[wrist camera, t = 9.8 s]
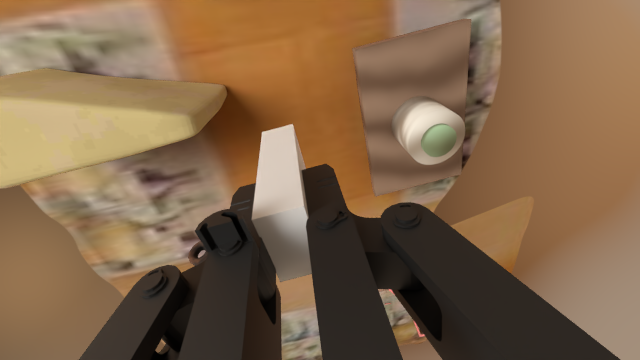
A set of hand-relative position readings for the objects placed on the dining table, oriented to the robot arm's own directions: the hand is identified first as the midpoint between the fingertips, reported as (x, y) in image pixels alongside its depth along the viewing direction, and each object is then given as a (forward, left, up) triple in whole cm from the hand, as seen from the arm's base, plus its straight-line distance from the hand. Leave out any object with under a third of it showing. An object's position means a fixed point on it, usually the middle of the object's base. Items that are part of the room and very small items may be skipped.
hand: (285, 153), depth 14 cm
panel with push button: (+11, +16, -24) cm, 31 cm away
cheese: (0, -19, -30) cm, 35 cm away
